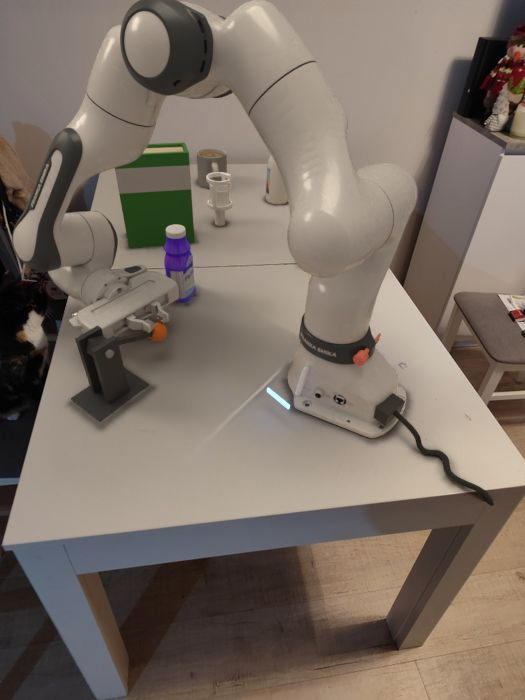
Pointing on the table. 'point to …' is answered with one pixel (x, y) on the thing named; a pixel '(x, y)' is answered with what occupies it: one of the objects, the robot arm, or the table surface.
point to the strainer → (219, 195)
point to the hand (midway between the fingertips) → (159, 323)
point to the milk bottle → (275, 184)
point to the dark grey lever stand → (105, 377)
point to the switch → (131, 337)
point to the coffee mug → (210, 164)
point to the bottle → (179, 261)
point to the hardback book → (156, 194)
